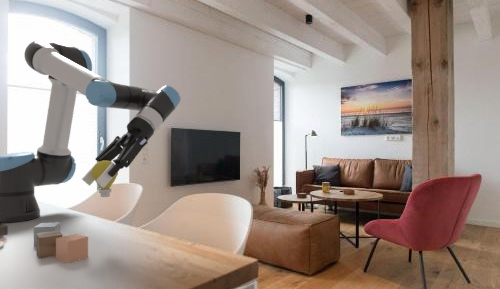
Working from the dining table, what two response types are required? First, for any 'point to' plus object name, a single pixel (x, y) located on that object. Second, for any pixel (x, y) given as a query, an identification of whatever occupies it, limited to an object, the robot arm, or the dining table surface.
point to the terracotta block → (71, 248)
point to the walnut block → (47, 243)
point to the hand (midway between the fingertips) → (92, 183)
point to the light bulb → (98, 171)
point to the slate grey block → (45, 228)
